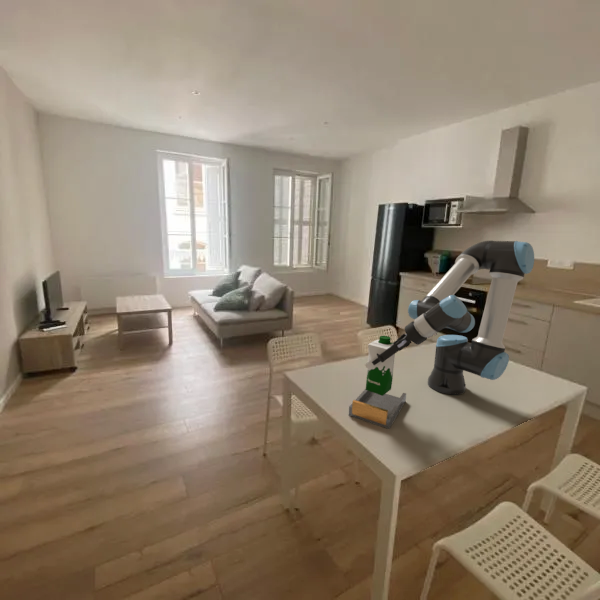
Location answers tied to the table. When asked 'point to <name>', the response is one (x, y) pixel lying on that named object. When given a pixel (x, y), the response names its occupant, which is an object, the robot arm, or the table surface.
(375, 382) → the soya milk
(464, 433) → the table surface
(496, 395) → the table surface
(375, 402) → the rail channel
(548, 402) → the table surface
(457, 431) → the table surface
